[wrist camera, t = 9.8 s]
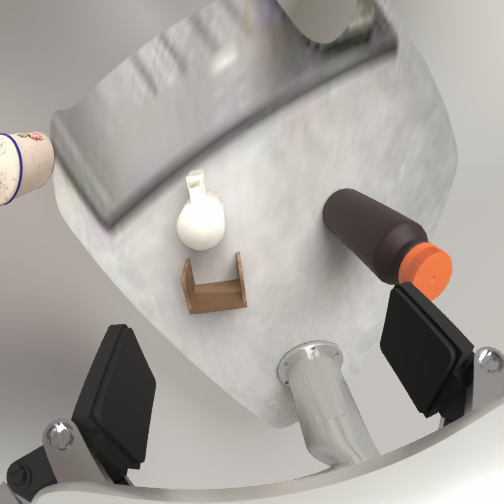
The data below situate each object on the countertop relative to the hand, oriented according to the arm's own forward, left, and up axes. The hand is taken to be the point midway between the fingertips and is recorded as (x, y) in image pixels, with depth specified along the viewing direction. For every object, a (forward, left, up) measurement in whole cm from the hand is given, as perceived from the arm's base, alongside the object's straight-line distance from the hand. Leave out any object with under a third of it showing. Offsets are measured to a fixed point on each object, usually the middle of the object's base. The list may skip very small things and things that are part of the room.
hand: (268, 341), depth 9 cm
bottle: (-5, -15, -28) cm, 33 cm away
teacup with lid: (+10, +30, -28) cm, 43 cm away
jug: (-1, +4, -28) cm, 29 cm away
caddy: (-12, +4, -28) cm, 31 cm away
